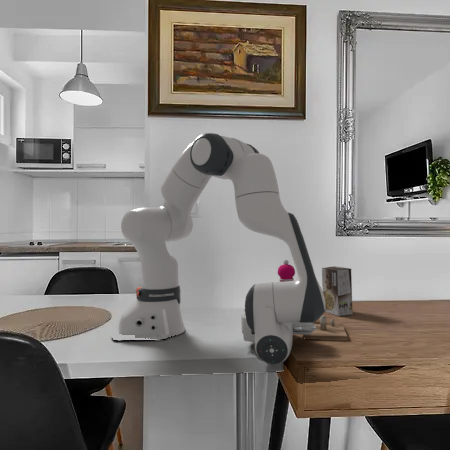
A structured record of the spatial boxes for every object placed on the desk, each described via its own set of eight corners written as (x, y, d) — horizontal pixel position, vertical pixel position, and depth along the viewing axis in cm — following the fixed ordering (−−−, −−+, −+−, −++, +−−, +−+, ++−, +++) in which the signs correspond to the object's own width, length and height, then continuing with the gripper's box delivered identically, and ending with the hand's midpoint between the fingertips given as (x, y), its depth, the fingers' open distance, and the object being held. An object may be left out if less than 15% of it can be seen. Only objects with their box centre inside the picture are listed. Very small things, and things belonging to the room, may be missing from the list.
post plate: (347, 340, 105) (346, 321, 105) (303, 339, 107) (302, 321, 107) (342, 328, 117) (341, 311, 117) (302, 327, 119) (302, 310, 119)
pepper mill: (298, 320, 128) (296, 260, 127) (276, 319, 129) (274, 261, 129) (298, 314, 135) (296, 258, 135) (277, 314, 136) (276, 258, 136)
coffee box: (353, 314, 133) (352, 268, 133) (338, 316, 131) (337, 269, 130) (336, 309, 141) (335, 265, 141) (322, 311, 139) (321, 267, 139)
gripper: (316, 318, 97) (314, 305, 110) (237, 316, 101) (244, 305, 114) (317, 342, 97) (314, 327, 110) (238, 340, 101) (245, 325, 114)
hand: (278, 316), depth 112 cm, fingers open, 8 cm apart
